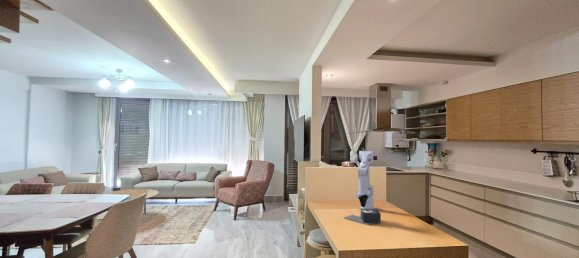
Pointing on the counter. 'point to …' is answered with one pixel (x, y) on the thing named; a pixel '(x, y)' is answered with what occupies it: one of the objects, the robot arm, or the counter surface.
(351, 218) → the mat
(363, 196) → the robot arm
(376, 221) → the small box
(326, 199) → the counter surface
